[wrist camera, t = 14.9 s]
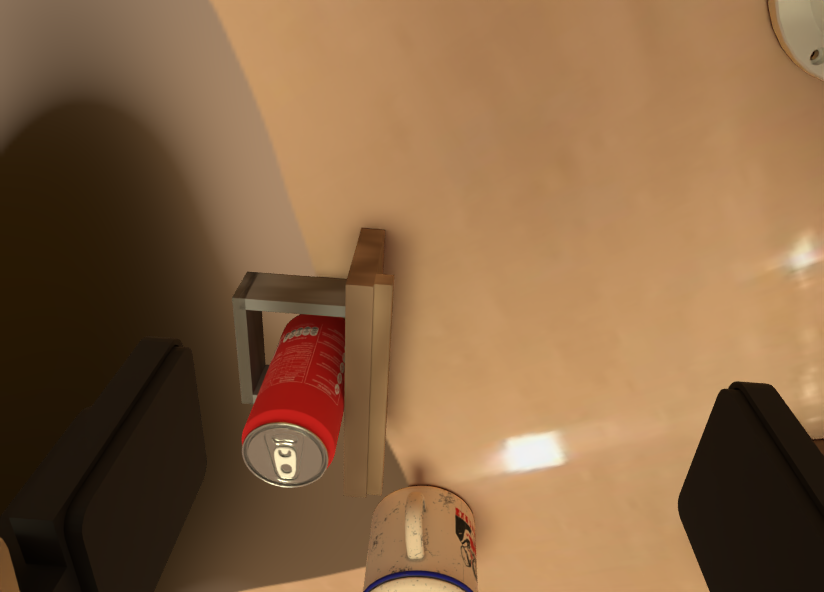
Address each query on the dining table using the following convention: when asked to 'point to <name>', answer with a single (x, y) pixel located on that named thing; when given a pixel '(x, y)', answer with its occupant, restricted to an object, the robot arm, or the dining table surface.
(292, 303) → the can rack
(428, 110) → the dining table surface
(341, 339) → the beverage can
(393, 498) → the teacup with lid
